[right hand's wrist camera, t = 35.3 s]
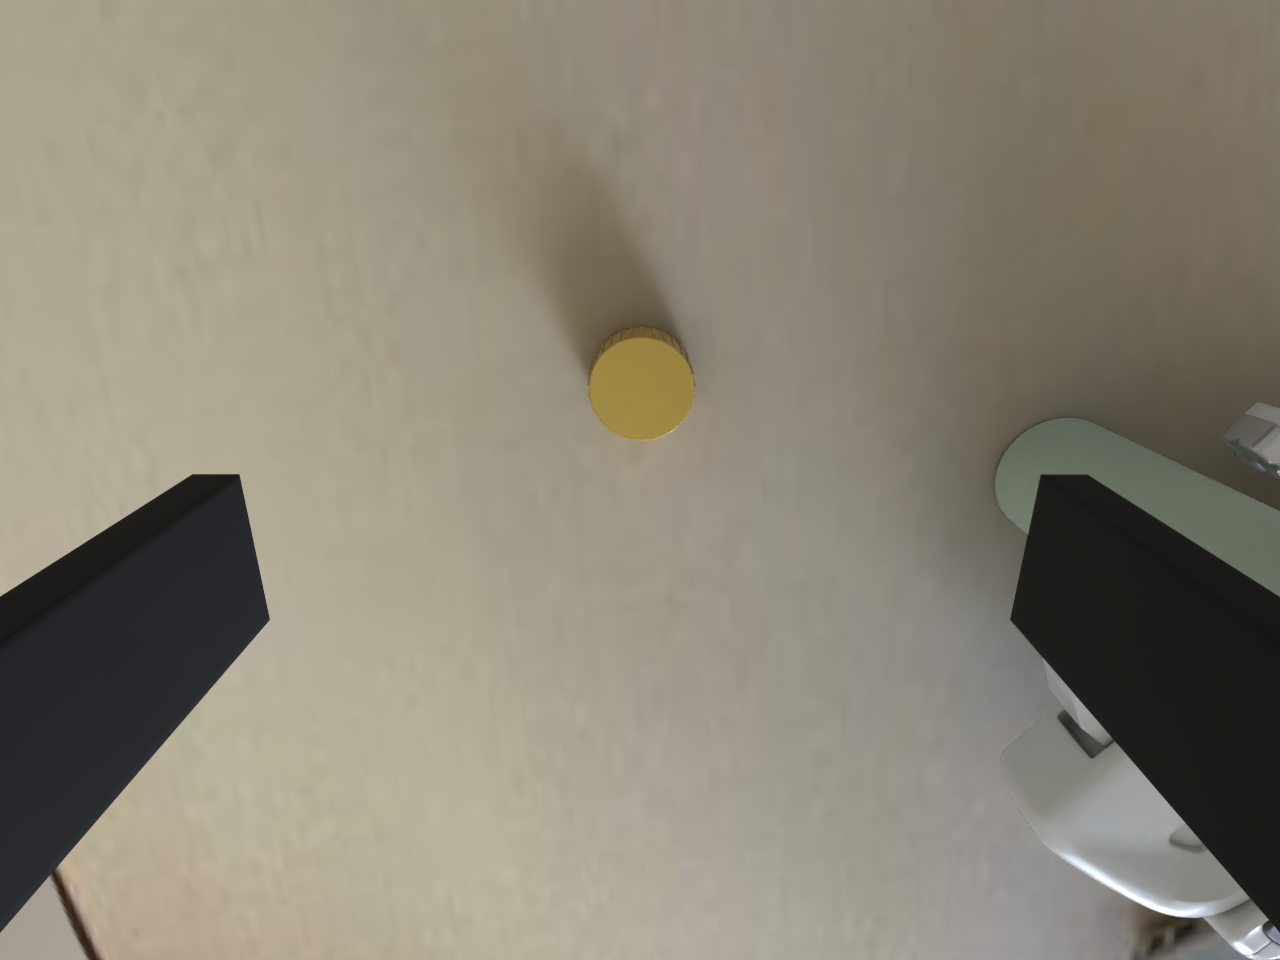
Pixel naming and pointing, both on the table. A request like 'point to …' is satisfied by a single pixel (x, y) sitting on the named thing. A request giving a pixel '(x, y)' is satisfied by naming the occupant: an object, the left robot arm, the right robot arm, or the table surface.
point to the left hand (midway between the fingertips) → (1139, 525)
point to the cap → (641, 383)
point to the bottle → (1144, 492)
